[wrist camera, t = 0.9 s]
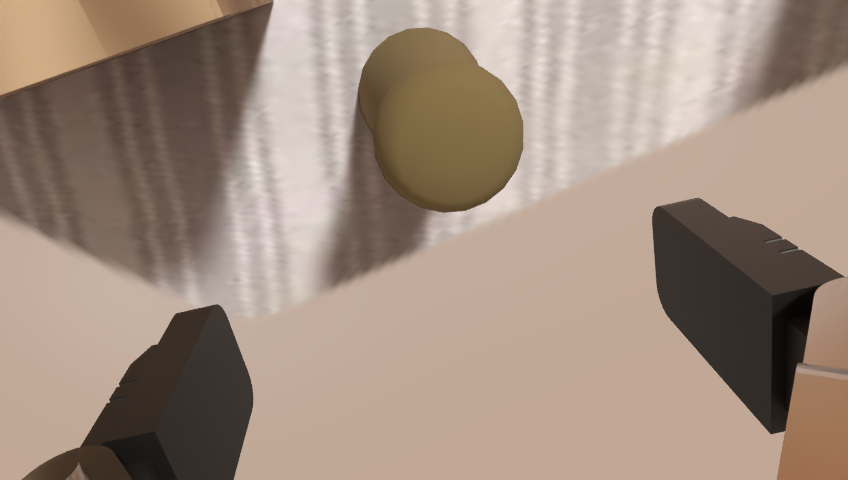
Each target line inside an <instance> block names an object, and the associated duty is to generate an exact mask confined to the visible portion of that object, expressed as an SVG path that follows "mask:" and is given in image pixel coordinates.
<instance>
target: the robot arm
mask: <svg viewBox="0 0 848 480" xmlns="http://www.w3.org/2000/svg"><path fill="white" fill-rule="evenodd" d="M652 225H653V239H654V254H655V268H656V282H657V290H658V294H659V298H660V301H661V304H662V306H663V309H664V311H665V312H666V314H667V316H668V317H669V318H670V320H671V321H672V322H673V323H674V324H675V325H676V326H677V328H678V329H679V330H680V331H681V332H682V333H683V334H684V336H685V337H686V338H687V339H688V340H689V341H690V342H691V343H692V345H693V346H694V347H695V348H696V349H697V350H698V352H699V353H700V354H701V355H702V356H703V357H704V358H705V360H706V361H707V362H708V363H709V364H710V365H711V366H712V368H713V369H714V370H715V371H716V372H717V373H718V374H719V376H720V377H721V378H722V379H723V380H724V381H725V382H726V383H727V385H728V386H729V387H730V388H731V389H732V390H733V392H734V393H735V394H736V395H737V396H738V397H739V398H740V399H741V401H742V402H743V403H744V404H745V405H746V406H747V408H748V409H749V410H750V411H751V412H752V413H753V414H754V416H755V417H756V418H757V419H758V420H759V421H760V422H761V424H762V425H763V426H764V427H765V428H766V429H767V430H768V431H769V433H770V434H774V433H779V432H783V431H785V435H784V441H783V447H782V452H781V458H780V464H779V470H778V475H777V480H848V277H844V276H842V275H841V274H839V273H838V272H836V271H835V270H833V269H832V268H830V267H828V266H827V265H825V264H824V263H822V262H820V261H819V260H817V259H816V258H814V257H813V256H811V255H809V254H808V253H806V252H805V251H803V250H798V247H797V246H795V245H794V244H792V243H791V242H789V241H787V240H786V239H785V240H782V237H781V236H779V235H778V234H776V233H775V232H773V231H772V230H770V229H768V228H767V227H765V226H764V225H762V224H758V223H755V222H752V221H748V220H744V219H741V218H737V217H730V218H729V217H727V216H726V215H724V214H723V213H721V212H720V211H718V210H717V209H715V208H714V207H712V206H711V205H709V204H708V203H706V202H705V201H703V200H702V199H700V198H695V199H690V200H686V201H681V202H676V203H672V204H667V205H663V206H658V207H656V208H655V209H654V212H653V216H652ZM119 385H120V387H117V388H116V389H115V391H114V393H113V394H112V396H111V398H110V399H109V400H110V403H107V404H106V406H105V408H104V409H103V411H102V412H101V414H100V416H99V417H98V419H97V420H96V422H95V424H94V425H93V427H92V429H91V431H90V432H89V434H88V435H87V437H86V438H85V440H84V442H83V443H82V445H81V447H80V448H76V449H73V450H70V451H67V452H65V453H63V454H60V455H58V456H56V457H54V458H52V459H50V460H48V461H47V462H45V463H43V464H42V465H40V466H39V467H37V468H36V469H34V470H33V471H32V472H30V473H29V474H28V475H27V476H26V477H24V478H23V479H22V480H233V479H234V476H235V472H236V468H237V465H238V461H239V457H240V453H241V449H242V446H243V442H244V438H245V435H246V431H247V427H248V423H249V419H250V416H251V412H252V408H253V390H252V384H251V380H250V376H249V373H248V370H247V368H246V365H245V362H244V360H243V358H242V355H241V352H240V349H239V347H238V344H237V342H236V339H235V336H234V334H233V331H232V329H231V326H230V323H229V320H228V318H227V315H226V313H225V311H224V310H223V308H222V307H221V306H219V305H217V304H216V305H212V306H207V307H203V308H198V309H194V310H189V311H185V312H181V313H177V314H175V316H174V317H173V319H172V320H171V322H170V324H169V326H168V328H167V329H166V331H165V333H164V334H163V336H162V338H161V340H160V341H159V343H158V344H157V345H153V346H151V347H150V348H149V349H148V350H147V351H145V352H144V353H143V354H142V355H141V356H140V357H139V358H137V359H136V360H135V361H134V362H133V363H132V364H131V365H130V367H129V368H128V370H127V371H126V373H125V375H124V377H123V378H122V379H121V381H120V383H119Z"/></svg>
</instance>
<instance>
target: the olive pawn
mask: <svg viewBox="0 0 848 480" xmlns="http://www.w3.org/2000/svg"><path fill="white" fill-rule="evenodd" d="M358 89H359V100H360V109H361V111H362V113H363V116H364V118H365V120H366V123H367V125H368V127H369V128H370V129H371V130H372V131H373V136H374V147H375V157H376V160H377V162H378V164H379V167H380V169H381V171H382V174H383V176H384V178H385V179H386V180H387V181H388V183H389V184H390V185H391V186H392V187H393V188H394V189H395V190H396V192H397V193H398V194H399V195H400V196H402V197H404V198H406V199H407V200H409V201H411V202H412V203H414V204H416V205H418V206H419V207H421V208H424V209H429V210H434V211H438V212H443V213H444V212H456V211H466V210H468V209H471V208H473V207H476V206H478V205H481V204H483V203H486V202H487V201H488V200H489V199H491V198H492V197H493V196H495V195H496V194H497V193H498V192H500V191H501V190H502V189H503V188H504V187H505V185H506V184H507V183H508V181H509V180H510V178H511V177H512V175H513V174H514V173H515V171H516V169H517V166H518V163H519V160H520V157H521V154H522V151H523V120H522V117H521V114H520V111H519V108H518V105H517V102H516V99H515V98H514V97H513V95H512V94H511V93H510V91H509V90H508V89H507V87H506V86H505V85H504V83H503V82H502V81H501V80H500V79H498V78H497V77H495V76H494V75H492V74H491V73H489V72H488V71H486V70H485V69H483V68H482V67H480V66H478V63H477V61H476V59H475V58H474V56H473V55H472V54H471V52H470V51H469V50H468V48H467V47H466V46H465V45H464V44H463V43H462V42H460V41H459V40H457V39H456V38H454V37H453V36H451V35H450V34H448V33H446V32H442V31H439V30H435V29H431V28H415V29H407V30H404V31H402V32H399V33H397V34H395V35H392V36H390V37H388V38H387V39H386V40H385V41H384V42H382V43H381V44H380V45H379V46H378V47H377V48H376V49H374V50H373V52H372V54H371V55H370V57H369V59H368V60H367V62H366V64H365V65H364V67H363V70H362V74H361V79H360V83H359V88H358Z"/></svg>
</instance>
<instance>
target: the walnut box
mask: <svg viewBox="0 0 848 480" xmlns="http://www.w3.org/2000/svg"><path fill="white" fill-rule="evenodd" d="M272 2H273V0H0V99H2V98H5V97H8V96H10V95H13V94H16V93H19V92H22V91H24V90H27V89H30V88H33V87H36V86H38V85H41V84H44V83H47V82H50V81H52V80H55V79H58V78H61V77H64V76H67V75H69V74H72V73H75V72H78V71H81V70H83V69H86V68H89V67H92V66H95V65H97V64H100V63H103V62H106V61H109V60H111V59H114V58H117V57H120V56H123V55H125V54H128V53H131V52H134V51H137V50H140V49H142V48H145V47H148V46H151V45H154V44H156V43H159V42H162V41H165V40H168V39H170V38H173V37H176V36H179V35H182V34H184V33H187V32H190V31H193V30H196V29H199V28H201V27H204V26H207V25H210V24H213V23H215V22H218V21H221V20H224V19H227V18H229V17H232V16H235V15H238V14H241V13H243V12H246V11H249V10H252V9H255V8H257V7H260V6H263V5H266V4H269V3H272Z"/></svg>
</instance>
